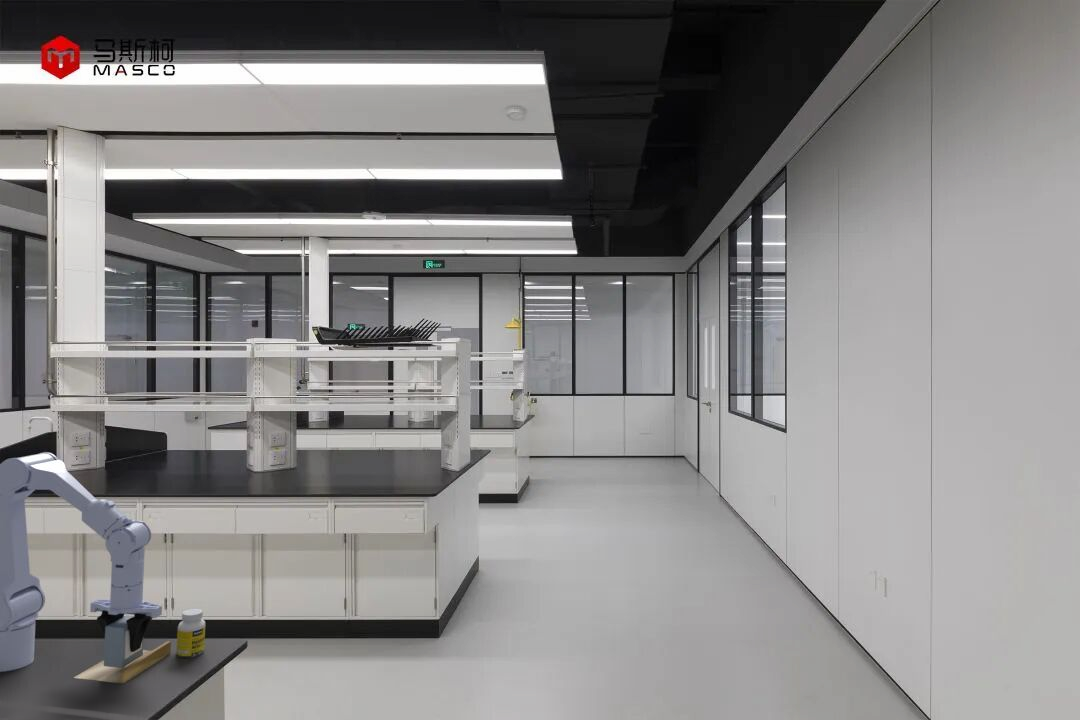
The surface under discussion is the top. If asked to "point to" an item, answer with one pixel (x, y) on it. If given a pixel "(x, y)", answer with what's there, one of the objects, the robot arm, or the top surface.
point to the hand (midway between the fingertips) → (124, 648)
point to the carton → (119, 645)
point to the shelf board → (130, 670)
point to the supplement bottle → (191, 634)
